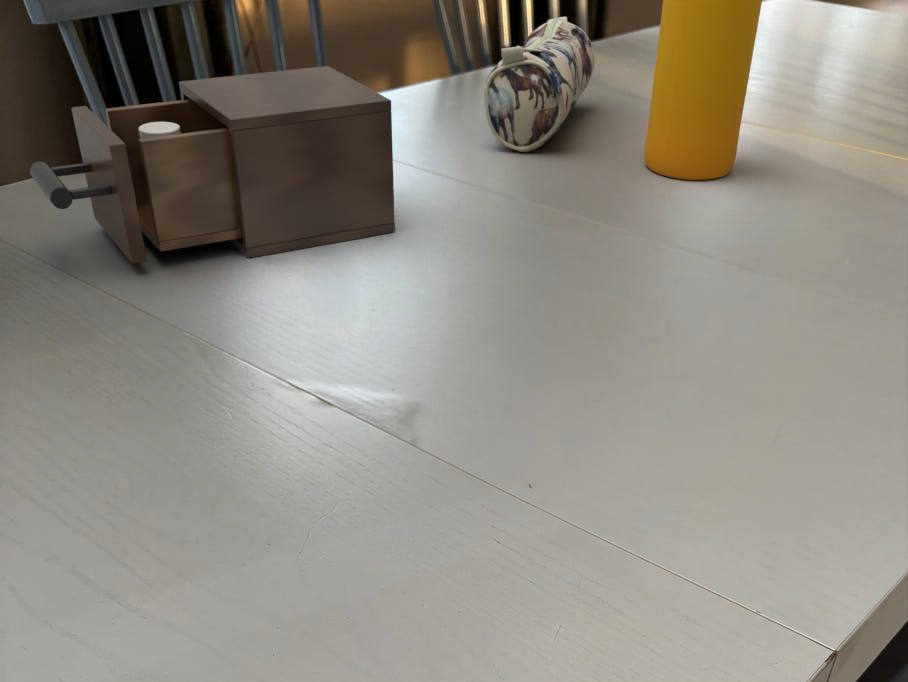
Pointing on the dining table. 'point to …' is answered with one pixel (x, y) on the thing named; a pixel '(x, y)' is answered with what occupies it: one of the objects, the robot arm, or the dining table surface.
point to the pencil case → (538, 84)
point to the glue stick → (158, 129)
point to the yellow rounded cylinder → (700, 86)
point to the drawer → (152, 177)
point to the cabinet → (304, 156)
